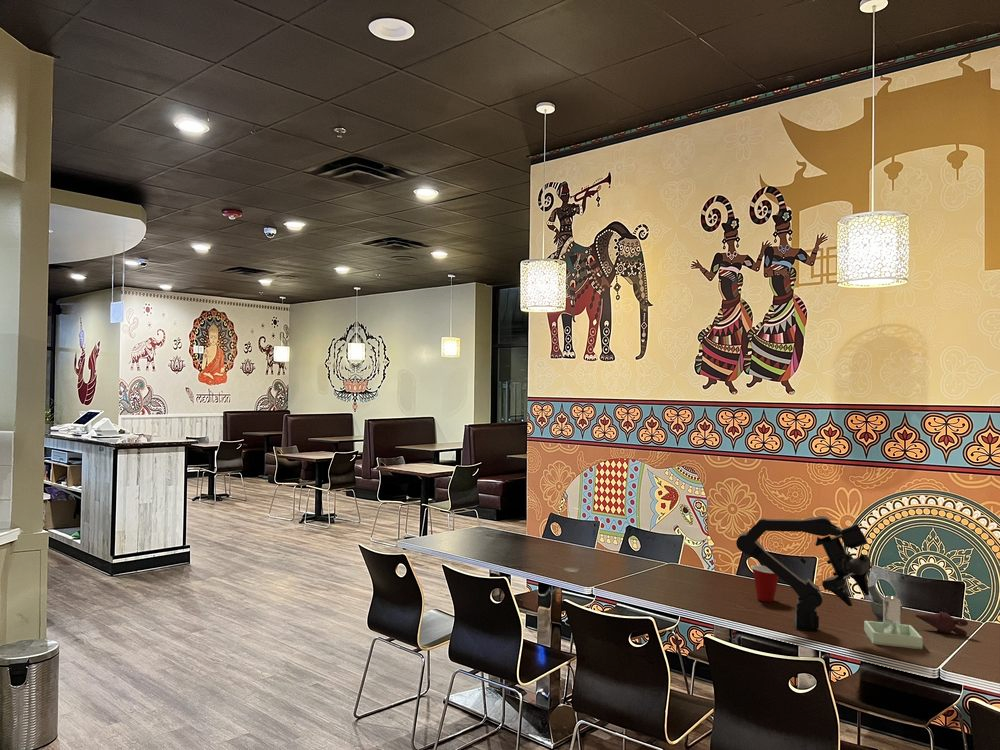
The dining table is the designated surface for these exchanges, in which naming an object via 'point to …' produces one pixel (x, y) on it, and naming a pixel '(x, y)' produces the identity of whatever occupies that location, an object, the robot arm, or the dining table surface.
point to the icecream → (944, 622)
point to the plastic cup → (765, 583)
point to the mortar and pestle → (878, 604)
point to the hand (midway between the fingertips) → (859, 600)
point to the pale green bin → (893, 636)
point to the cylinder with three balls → (891, 615)
